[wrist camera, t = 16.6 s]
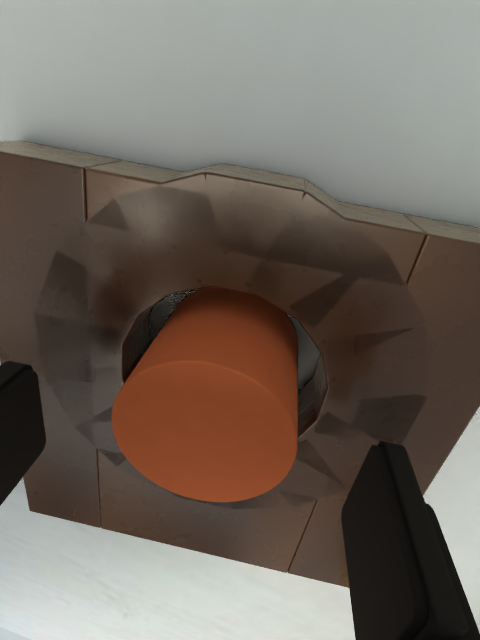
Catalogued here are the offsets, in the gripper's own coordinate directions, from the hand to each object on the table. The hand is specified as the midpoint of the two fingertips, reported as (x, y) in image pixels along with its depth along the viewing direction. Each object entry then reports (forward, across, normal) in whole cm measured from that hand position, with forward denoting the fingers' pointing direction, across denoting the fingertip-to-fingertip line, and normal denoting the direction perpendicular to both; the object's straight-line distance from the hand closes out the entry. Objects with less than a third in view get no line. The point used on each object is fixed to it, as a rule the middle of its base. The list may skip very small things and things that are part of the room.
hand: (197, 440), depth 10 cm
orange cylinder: (+5, 0, 0) cm, 5 cm away
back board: (+5, 0, +2) cm, 5 cm away
